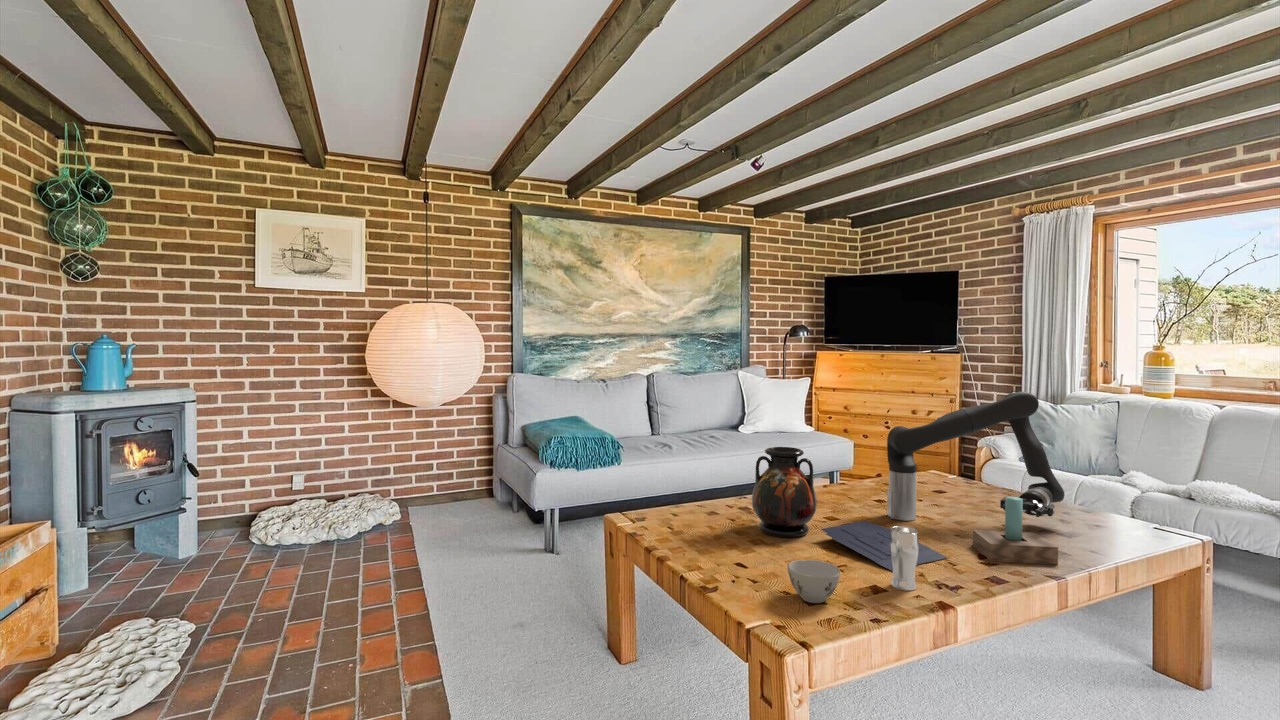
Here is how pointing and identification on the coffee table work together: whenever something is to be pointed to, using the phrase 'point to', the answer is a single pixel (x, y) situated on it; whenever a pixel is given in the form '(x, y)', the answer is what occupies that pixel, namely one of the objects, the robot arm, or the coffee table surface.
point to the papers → (875, 542)
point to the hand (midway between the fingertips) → (1021, 511)
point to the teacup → (813, 579)
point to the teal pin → (1013, 519)
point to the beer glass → (904, 557)
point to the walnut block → (1015, 547)
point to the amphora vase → (784, 494)
